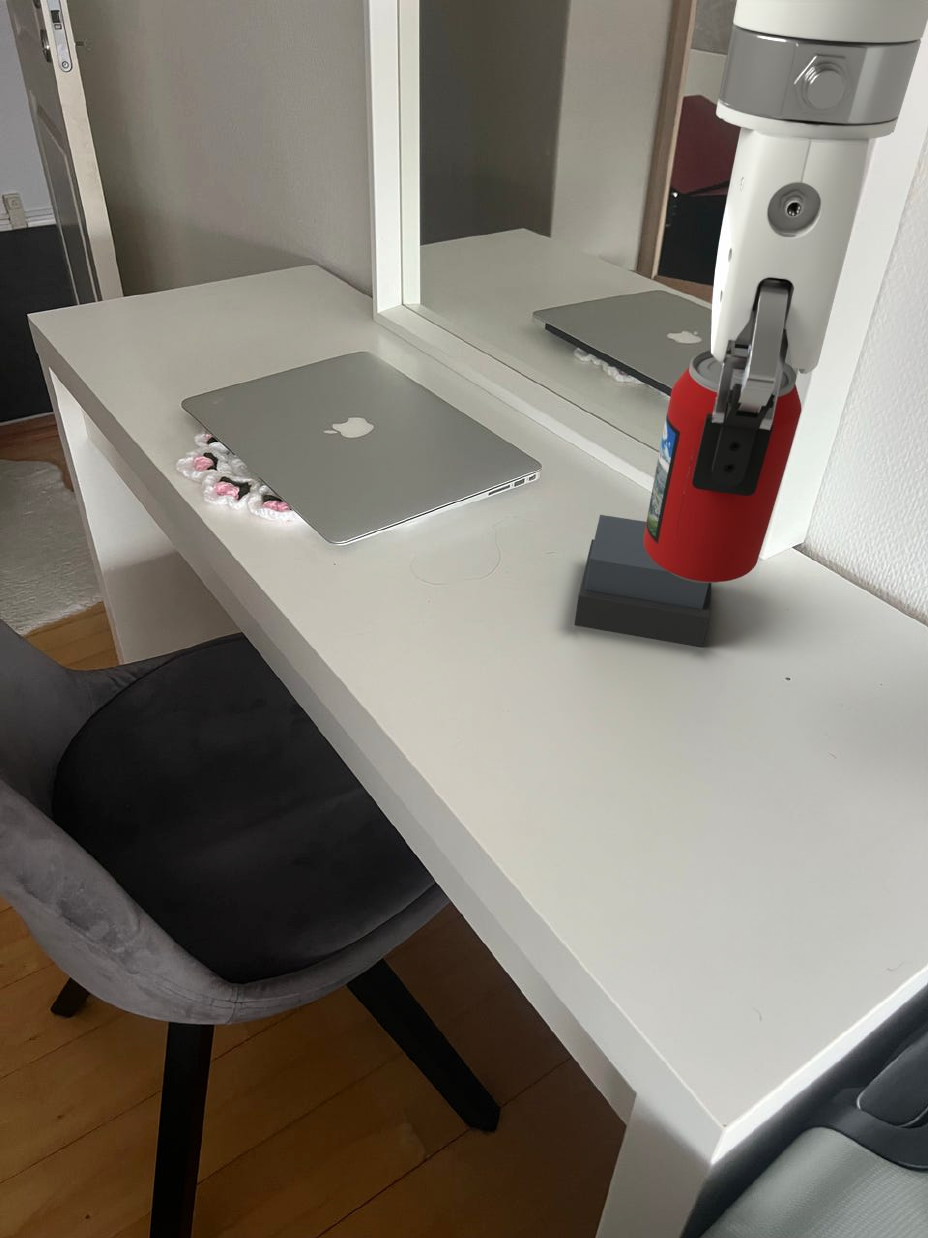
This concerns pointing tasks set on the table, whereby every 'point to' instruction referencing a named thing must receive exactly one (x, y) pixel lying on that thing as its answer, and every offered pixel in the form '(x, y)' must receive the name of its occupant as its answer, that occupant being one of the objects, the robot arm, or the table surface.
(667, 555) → the beverage can
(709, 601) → the pad base
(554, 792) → the table surface
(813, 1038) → the table surface
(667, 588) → the pad top
